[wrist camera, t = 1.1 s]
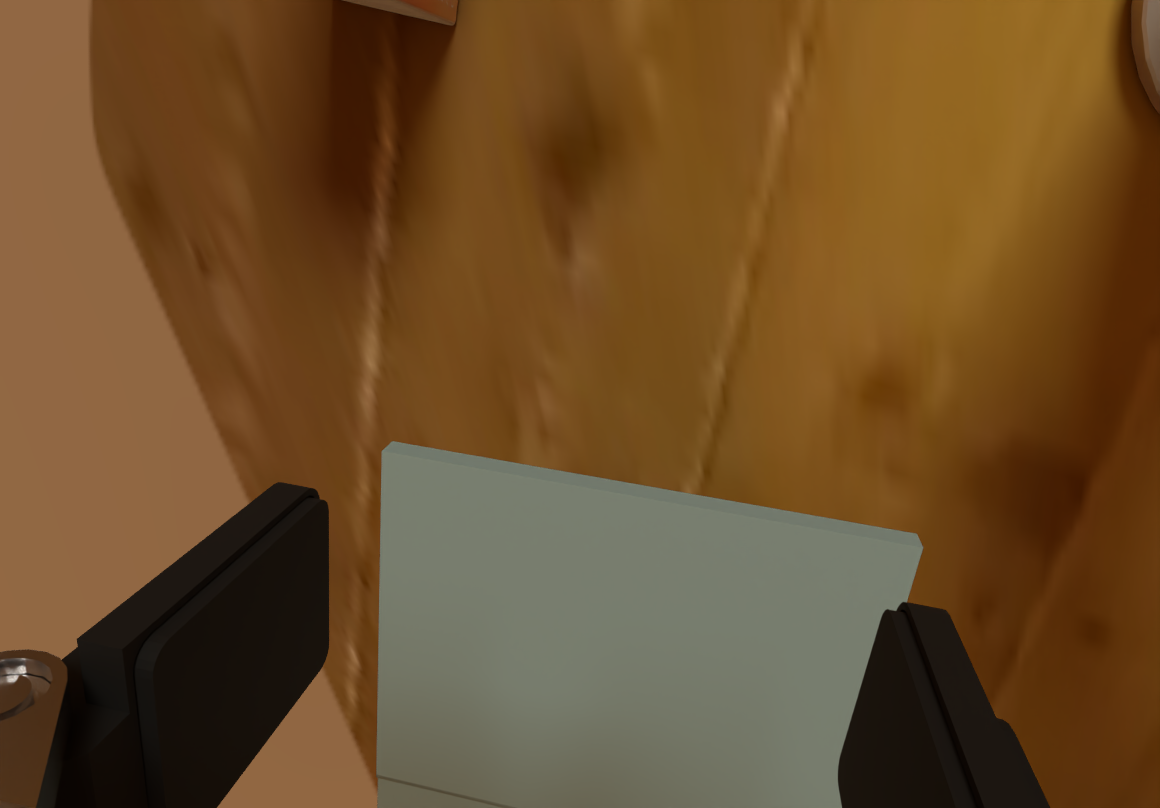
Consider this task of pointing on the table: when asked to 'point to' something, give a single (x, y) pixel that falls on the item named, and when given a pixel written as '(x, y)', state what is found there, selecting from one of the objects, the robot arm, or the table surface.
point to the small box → (417, 8)
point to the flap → (615, 640)
